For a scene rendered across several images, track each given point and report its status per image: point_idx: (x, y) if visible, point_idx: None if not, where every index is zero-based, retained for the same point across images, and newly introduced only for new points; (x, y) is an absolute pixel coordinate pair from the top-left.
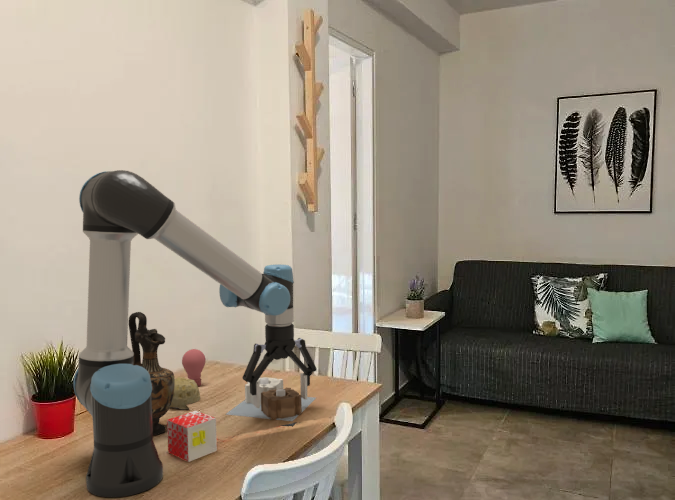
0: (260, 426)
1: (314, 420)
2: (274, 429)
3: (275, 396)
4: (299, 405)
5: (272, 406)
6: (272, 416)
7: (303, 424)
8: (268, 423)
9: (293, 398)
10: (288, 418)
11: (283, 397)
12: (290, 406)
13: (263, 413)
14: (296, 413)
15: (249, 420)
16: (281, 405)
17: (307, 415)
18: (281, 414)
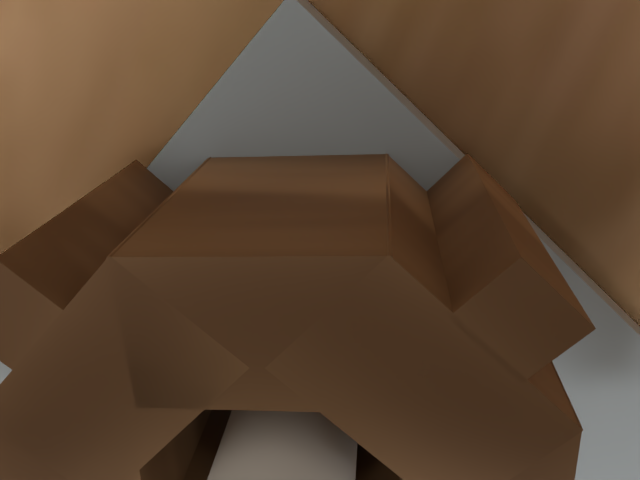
0: (624, 192)
1: (4, 73)
2: (530, 22)
3: (407, 460)
4: (81, 202)
5: (535, 252)
6: (505, 195)
7: (154, 12)
8: None
9: (127, 248)
10: (304, 116)
11: (296, 351)
12: (227, 200)
13: None
14: (165, 193)
15: None
16: (383, 216)
17: None
18: (387, 167)
